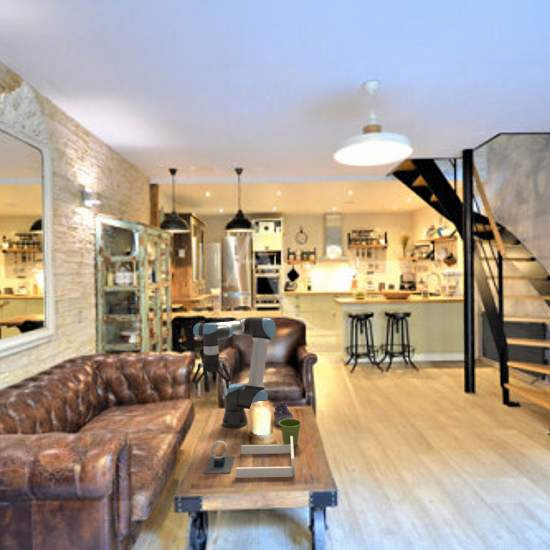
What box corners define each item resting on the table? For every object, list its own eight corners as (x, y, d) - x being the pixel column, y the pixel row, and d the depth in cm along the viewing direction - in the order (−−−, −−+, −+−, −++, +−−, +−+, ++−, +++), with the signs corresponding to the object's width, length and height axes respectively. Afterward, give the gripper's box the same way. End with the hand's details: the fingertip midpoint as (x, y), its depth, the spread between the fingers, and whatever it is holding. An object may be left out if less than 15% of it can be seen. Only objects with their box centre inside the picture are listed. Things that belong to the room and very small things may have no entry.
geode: (270, 416, 254) (271, 400, 254) (287, 417, 255) (289, 401, 256) (274, 426, 234) (275, 409, 234) (293, 427, 235) (295, 410, 236)
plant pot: (302, 448, 205) (302, 426, 205) (279, 449, 205) (279, 427, 205) (301, 438, 217) (300, 418, 217) (279, 439, 217) (278, 418, 217)
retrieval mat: (210, 457, 198) (210, 456, 198) (234, 457, 198) (234, 456, 198) (203, 473, 182) (203, 472, 182) (230, 473, 182) (230, 472, 182)
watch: (211, 462, 192) (211, 439, 192) (228, 461, 192) (227, 438, 192) (209, 467, 187) (209, 444, 187) (227, 467, 187) (226, 443, 187)
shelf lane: (241, 453, 202) (240, 437, 202) (293, 452, 201) (292, 436, 201) (235, 477, 177) (235, 459, 177) (294, 476, 177) (294, 458, 177)
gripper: (185, 355, 201) (186, 398, 201) (234, 354, 201) (236, 396, 201) (188, 352, 209) (190, 393, 209) (236, 351, 208) (237, 392, 208)
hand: (212, 395), depth 205 cm, fingers open, 13 cm apart
